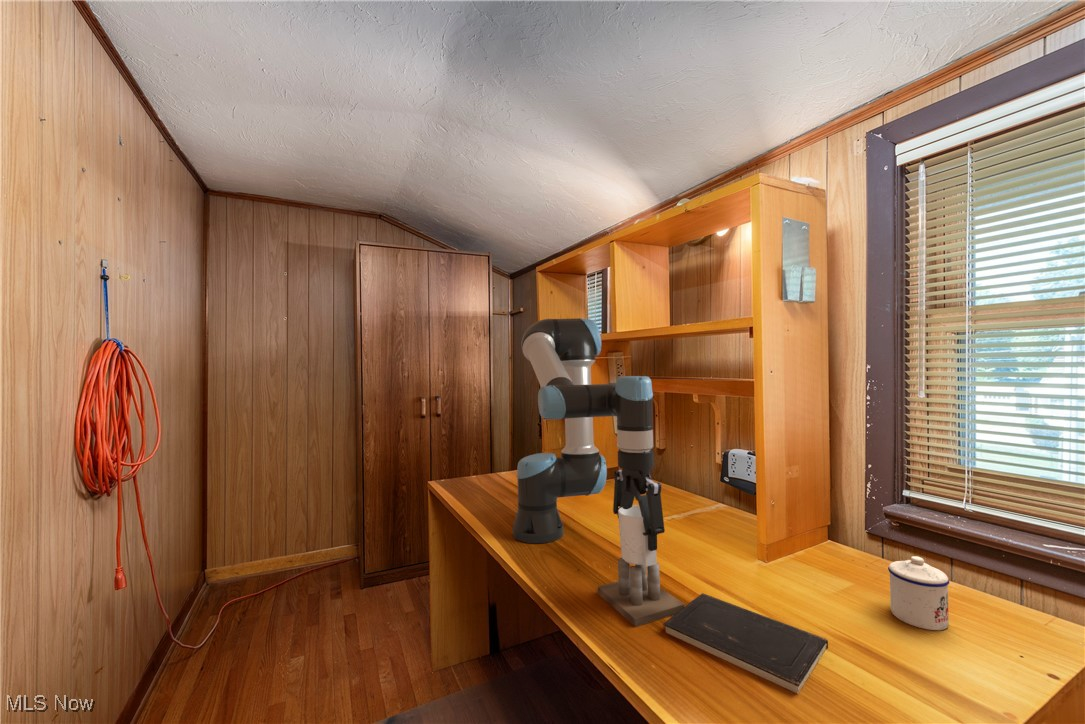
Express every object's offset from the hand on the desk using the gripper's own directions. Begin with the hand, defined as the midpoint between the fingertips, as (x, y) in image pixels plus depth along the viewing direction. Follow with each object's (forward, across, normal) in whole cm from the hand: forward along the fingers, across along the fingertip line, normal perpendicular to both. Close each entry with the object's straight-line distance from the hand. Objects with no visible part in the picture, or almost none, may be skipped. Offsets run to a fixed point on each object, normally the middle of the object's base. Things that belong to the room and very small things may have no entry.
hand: (638, 556), depth 95 cm
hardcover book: (+10, -19, -9) cm, 23 cm away
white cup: (+1, 0, 0) cm, 1 cm away
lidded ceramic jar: (+10, -28, -46) cm, 55 cm away
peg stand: (+10, 0, 0) cm, 10 cm away
